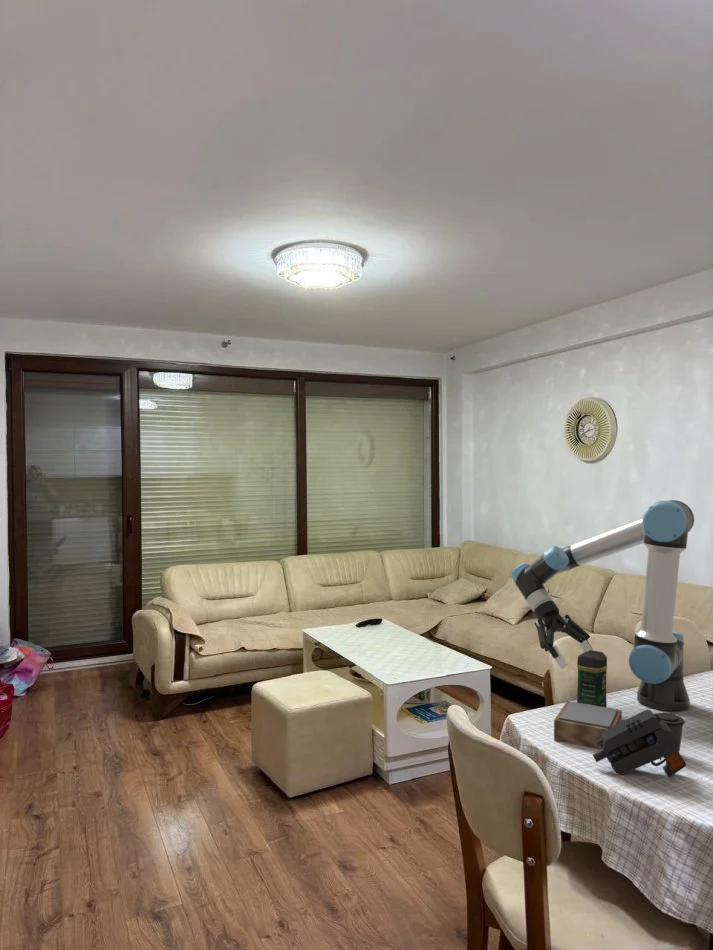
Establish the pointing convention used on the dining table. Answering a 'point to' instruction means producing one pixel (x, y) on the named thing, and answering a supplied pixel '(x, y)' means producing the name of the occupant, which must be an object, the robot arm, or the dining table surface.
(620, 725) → the grey toy blaster gun
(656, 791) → the dining table surface
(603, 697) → the coffee jar
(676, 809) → the dining table surface
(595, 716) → the wooden block
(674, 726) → the coffee cup
